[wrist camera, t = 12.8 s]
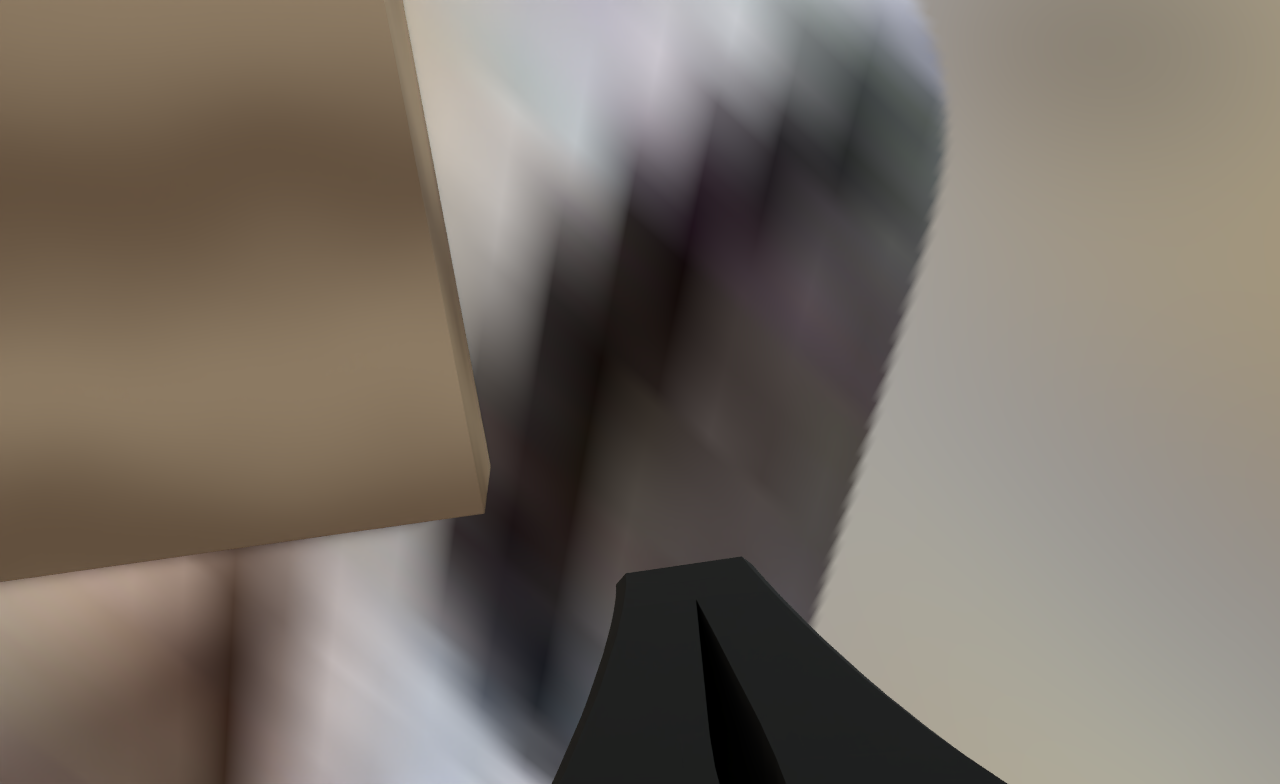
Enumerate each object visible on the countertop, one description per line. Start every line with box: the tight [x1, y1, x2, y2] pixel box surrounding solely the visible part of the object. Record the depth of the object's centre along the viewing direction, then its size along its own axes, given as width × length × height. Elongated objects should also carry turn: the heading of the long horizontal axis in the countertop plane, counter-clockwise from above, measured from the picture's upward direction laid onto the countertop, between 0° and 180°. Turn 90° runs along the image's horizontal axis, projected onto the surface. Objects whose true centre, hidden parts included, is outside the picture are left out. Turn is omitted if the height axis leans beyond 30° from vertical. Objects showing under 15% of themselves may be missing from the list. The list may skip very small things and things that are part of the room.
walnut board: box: [0, 0, 490, 582], centre depth 16 cm, size 12×9×2 cm
